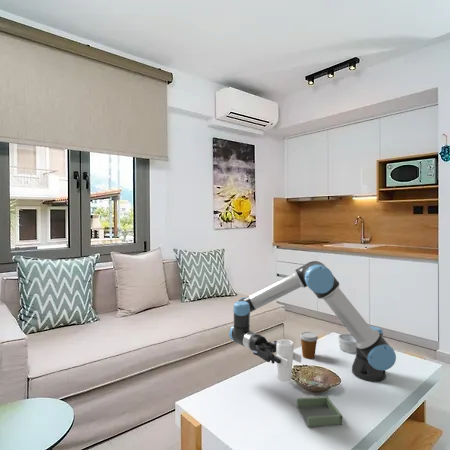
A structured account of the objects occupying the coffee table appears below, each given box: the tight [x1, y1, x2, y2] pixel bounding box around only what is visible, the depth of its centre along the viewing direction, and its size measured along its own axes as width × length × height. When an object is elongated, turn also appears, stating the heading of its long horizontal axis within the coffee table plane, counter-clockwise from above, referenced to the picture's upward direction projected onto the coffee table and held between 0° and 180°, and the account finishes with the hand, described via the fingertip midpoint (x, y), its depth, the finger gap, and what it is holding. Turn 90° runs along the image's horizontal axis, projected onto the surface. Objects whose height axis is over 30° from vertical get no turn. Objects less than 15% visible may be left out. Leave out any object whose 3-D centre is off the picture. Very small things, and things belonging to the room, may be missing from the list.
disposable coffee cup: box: [299, 331, 319, 360], centre depth 181 cm, size 10×10×12 cm
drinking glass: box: [275, 338, 294, 382], centre depth 134 cm, size 7×7×15 cm
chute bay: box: [296, 396, 343, 429], centre depth 129 cm, size 13×13×4 cm
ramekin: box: [338, 333, 356, 354], centre depth 190 cm, size 13×13×7 cm
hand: (294, 361), depth 130 cm, fingers closed on drinking glass, 6 cm apart
